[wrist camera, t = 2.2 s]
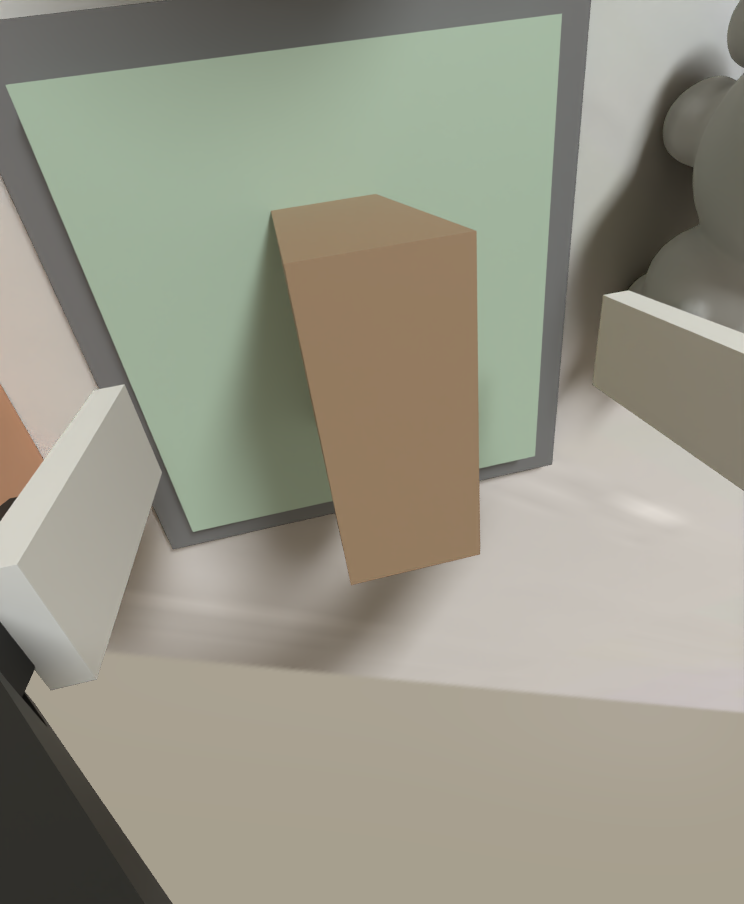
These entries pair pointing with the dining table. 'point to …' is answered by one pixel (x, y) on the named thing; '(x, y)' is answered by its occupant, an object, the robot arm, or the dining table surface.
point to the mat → (243, 32)
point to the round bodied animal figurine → (707, 199)
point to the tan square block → (15, 452)
